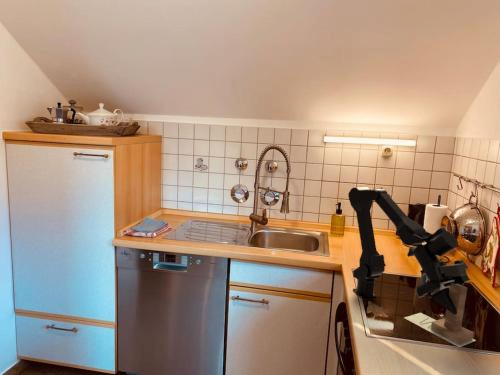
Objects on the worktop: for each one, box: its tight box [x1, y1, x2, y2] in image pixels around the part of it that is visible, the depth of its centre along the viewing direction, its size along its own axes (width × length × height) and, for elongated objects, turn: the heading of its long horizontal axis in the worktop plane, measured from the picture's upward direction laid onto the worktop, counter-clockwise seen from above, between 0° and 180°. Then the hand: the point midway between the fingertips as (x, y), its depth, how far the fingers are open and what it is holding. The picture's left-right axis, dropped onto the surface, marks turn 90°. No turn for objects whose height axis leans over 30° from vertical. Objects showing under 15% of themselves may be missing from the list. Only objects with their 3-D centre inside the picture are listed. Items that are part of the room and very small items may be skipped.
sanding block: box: [431, 284, 474, 345], centre depth 111 cm, size 9×6×15 cm, turn 31°
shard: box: [366, 300, 388, 318], centre depth 126 cm, size 11×8×2 cm
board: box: [404, 312, 477, 348], centre depth 115 cm, size 18×8×1 cm, turn 31°
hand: (459, 312), depth 110 cm, fingers closed on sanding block, 3 cm apart
